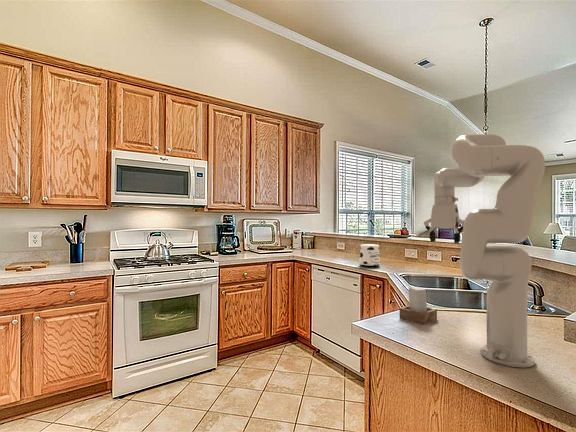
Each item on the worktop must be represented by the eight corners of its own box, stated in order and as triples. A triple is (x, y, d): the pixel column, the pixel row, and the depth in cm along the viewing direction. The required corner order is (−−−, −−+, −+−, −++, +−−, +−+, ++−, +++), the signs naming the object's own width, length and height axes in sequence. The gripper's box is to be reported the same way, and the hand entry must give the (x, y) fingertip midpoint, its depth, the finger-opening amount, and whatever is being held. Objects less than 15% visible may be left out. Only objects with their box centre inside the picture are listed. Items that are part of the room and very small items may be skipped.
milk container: (378, 268, 253) (378, 246, 253) (357, 267, 260) (357, 245, 260) (381, 265, 269) (381, 244, 269) (361, 264, 276) (361, 243, 276)
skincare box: (427, 321, 121) (427, 289, 122) (417, 321, 121) (417, 290, 121) (418, 316, 127) (418, 286, 128) (408, 317, 127) (408, 286, 127)
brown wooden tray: (423, 325, 117) (423, 314, 117) (399, 318, 125) (399, 308, 125) (436, 319, 123) (436, 309, 123) (413, 313, 131) (413, 304, 131)
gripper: (470, 200, 126) (470, 243, 126) (428, 202, 140) (428, 240, 140) (462, 199, 122) (462, 244, 122) (419, 201, 135) (420, 241, 135)
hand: (444, 242), depth 131 cm, fingers open, 9 cm apart
